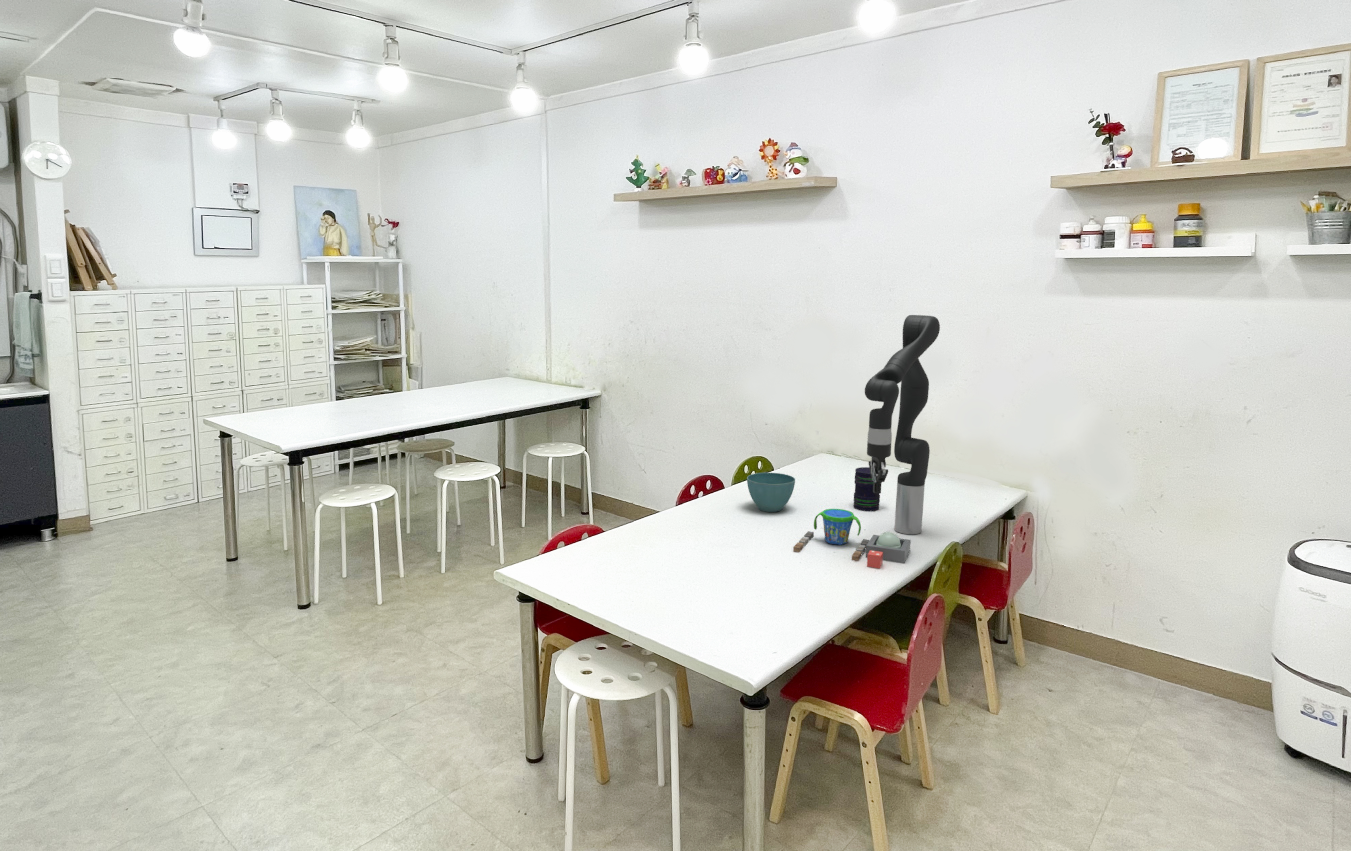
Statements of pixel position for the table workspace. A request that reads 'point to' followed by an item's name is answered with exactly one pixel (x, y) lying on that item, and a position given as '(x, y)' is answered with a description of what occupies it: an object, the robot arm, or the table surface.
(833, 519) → the snack cup
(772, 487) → the teal bowl
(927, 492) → the table surface
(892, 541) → the dome
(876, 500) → the storage jar
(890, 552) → the frame
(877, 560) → the red die
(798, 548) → the track markers
